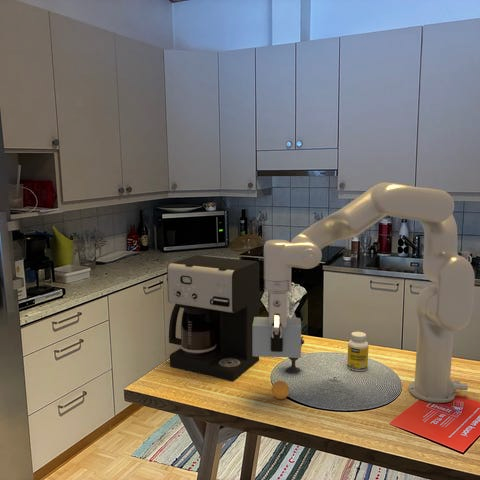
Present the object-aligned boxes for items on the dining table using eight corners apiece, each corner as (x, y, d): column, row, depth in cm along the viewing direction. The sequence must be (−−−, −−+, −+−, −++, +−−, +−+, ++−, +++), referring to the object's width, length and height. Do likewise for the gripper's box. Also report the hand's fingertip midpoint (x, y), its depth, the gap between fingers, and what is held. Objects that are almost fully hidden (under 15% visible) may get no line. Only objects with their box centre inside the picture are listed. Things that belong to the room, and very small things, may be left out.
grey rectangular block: (300, 347, 139) (300, 318, 138) (300, 357, 132) (301, 327, 131) (254, 345, 141) (254, 316, 139) (252, 356, 133) (252, 325, 132)
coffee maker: (158, 365, 161) (155, 262, 156) (190, 345, 178) (188, 252, 173) (232, 382, 148) (231, 271, 143) (259, 359, 165) (259, 259, 160)
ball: (268, 384, 141) (279, 397, 141) (267, 392, 136) (278, 405, 136) (281, 374, 140) (292, 387, 140) (281, 382, 135) (292, 395, 135)
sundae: (279, 368, 159) (279, 324, 156) (297, 365, 161) (298, 321, 159) (288, 376, 152) (288, 330, 150) (307, 373, 155) (308, 328, 152)
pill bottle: (344, 369, 157) (345, 335, 155) (350, 362, 163) (351, 329, 161) (364, 373, 154) (366, 338, 152) (369, 366, 160) (370, 332, 158)
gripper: (291, 293, 124) (290, 358, 127) (290, 277, 141) (290, 335, 144) (262, 292, 125) (262, 357, 128) (265, 277, 142) (265, 334, 145)
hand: (277, 345), depth 136 cm, fingers closed on grey rectangular block, 7 cm apart
